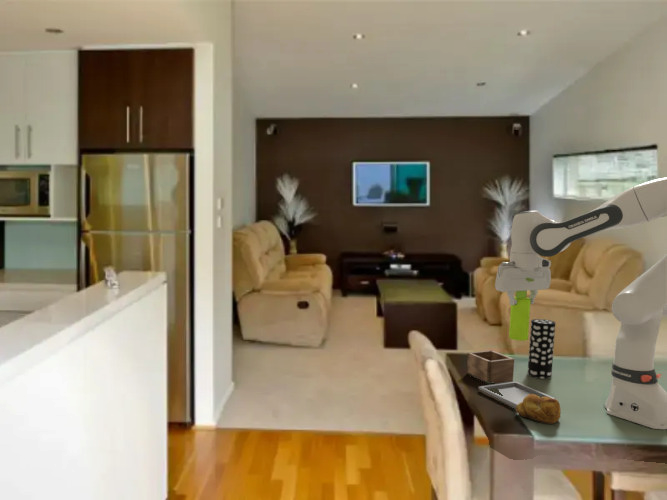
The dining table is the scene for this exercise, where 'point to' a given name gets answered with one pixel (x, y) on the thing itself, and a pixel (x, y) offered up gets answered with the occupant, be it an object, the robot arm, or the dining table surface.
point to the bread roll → (539, 409)
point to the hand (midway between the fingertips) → (521, 304)
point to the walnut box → (490, 366)
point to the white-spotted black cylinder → (541, 348)
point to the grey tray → (512, 392)
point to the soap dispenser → (520, 316)
